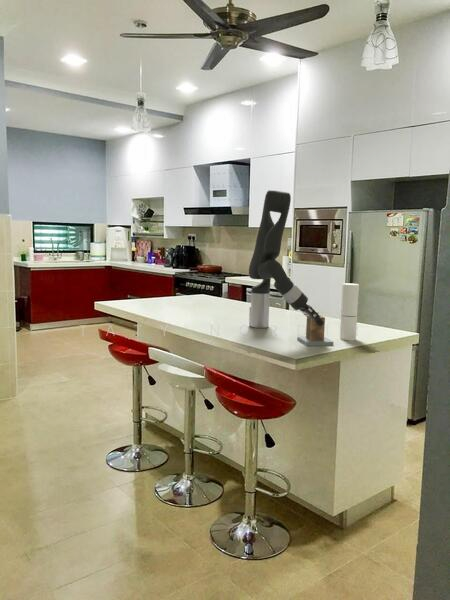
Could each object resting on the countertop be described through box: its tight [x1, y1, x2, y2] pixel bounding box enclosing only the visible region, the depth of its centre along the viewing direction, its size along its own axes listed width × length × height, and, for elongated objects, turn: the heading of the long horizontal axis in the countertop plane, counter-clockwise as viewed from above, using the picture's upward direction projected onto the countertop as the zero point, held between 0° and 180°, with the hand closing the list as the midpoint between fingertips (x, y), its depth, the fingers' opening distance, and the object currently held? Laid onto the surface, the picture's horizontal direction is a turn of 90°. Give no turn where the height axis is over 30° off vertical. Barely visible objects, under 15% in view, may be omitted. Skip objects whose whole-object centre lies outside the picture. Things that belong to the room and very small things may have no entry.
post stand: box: [296, 311, 335, 347], centre depth 212 cm, size 12×12×14 cm
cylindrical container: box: [339, 282, 360, 341], centre depth 220 cm, size 7×7×25 cm
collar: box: [305, 315, 326, 341], centre depth 212 cm, size 6×6×10 cm
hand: (318, 322), depth 212 cm, fingers open, 8 cm apart
